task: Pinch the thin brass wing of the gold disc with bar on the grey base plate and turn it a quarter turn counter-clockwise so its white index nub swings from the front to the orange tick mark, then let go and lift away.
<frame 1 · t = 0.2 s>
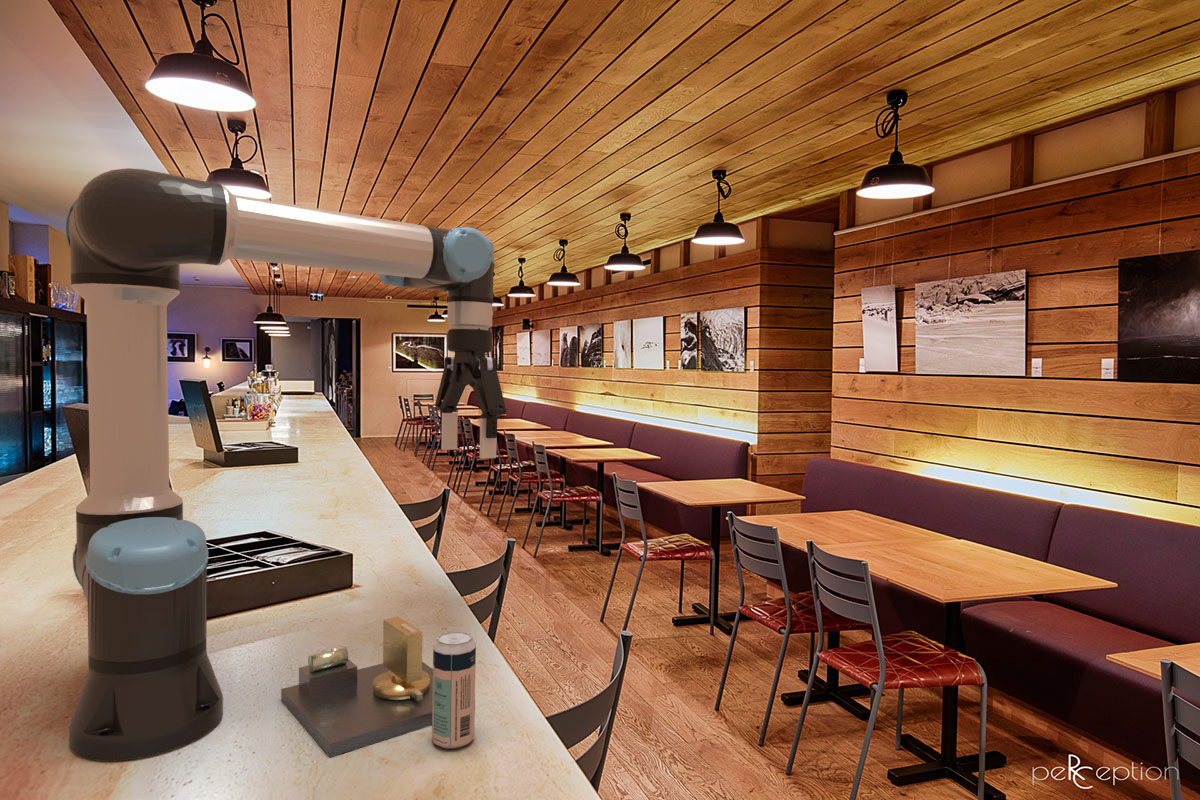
hand: (467, 453, 125), 28 cm above the worktop, fingers open, 13 cm apart
beer can: (453, 742, 84), on the worktop
grey base plate: (377, 705, 92), on the worktop
gold disc with bar: (404, 657, 92), point 6 cm above the worktop, hinge at 0.0°
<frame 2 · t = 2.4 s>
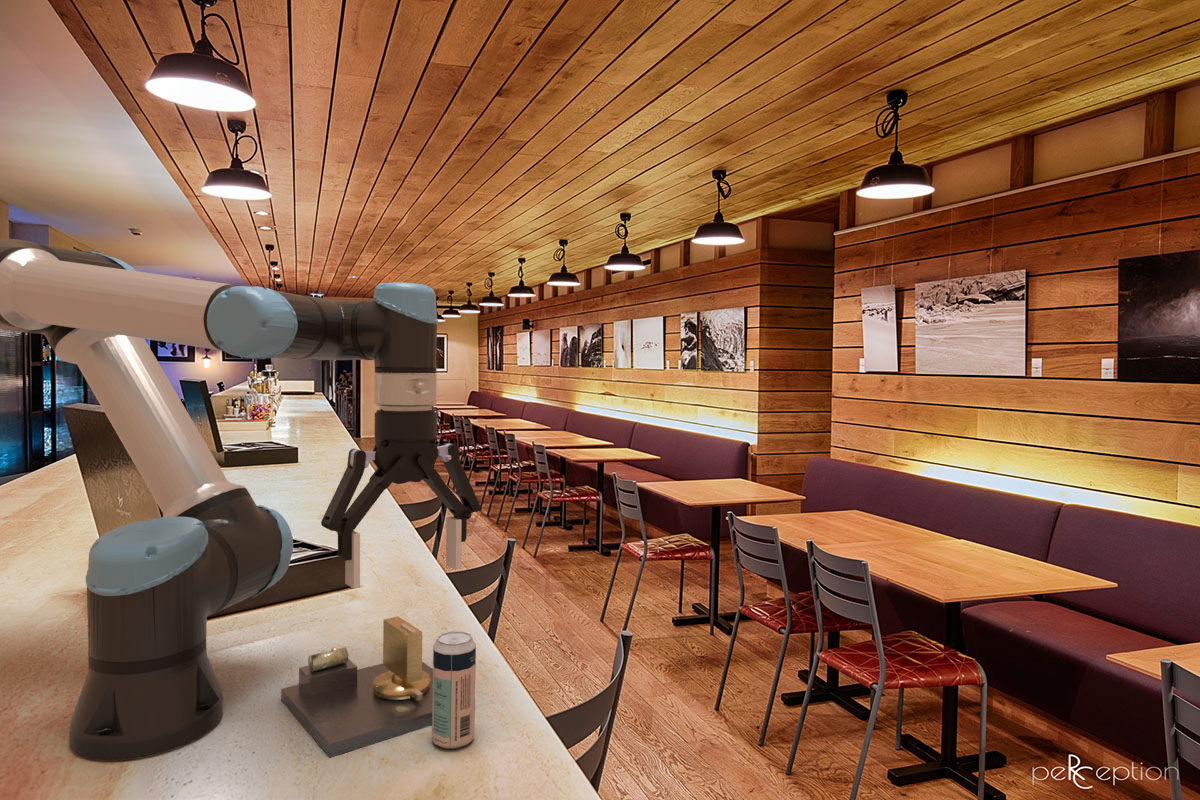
hand: (405, 576, 93), 16 cm above the worktop, fingers open, 13 cm apart
nothing on the worktop moved.
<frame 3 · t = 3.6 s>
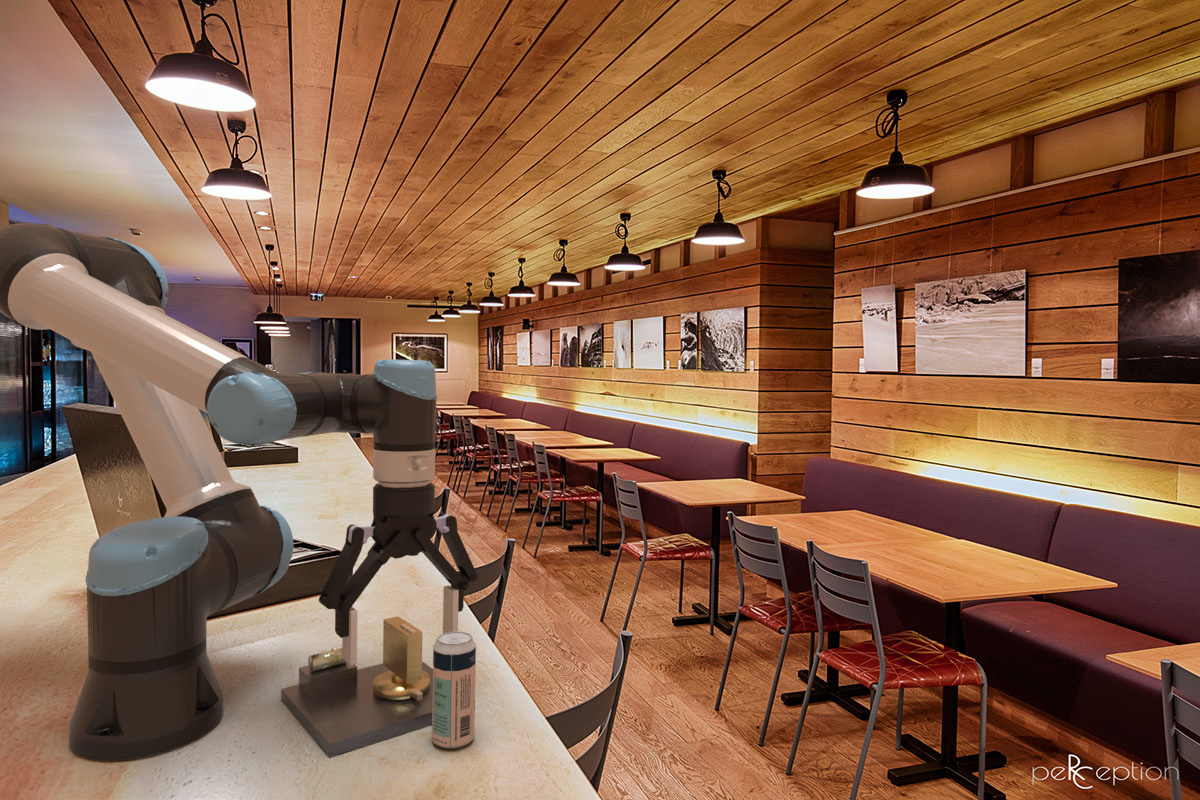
hand: (402, 648, 93), 7 cm above the worktop, fingers open, 13 cm apart
nothing on the worktop moved.
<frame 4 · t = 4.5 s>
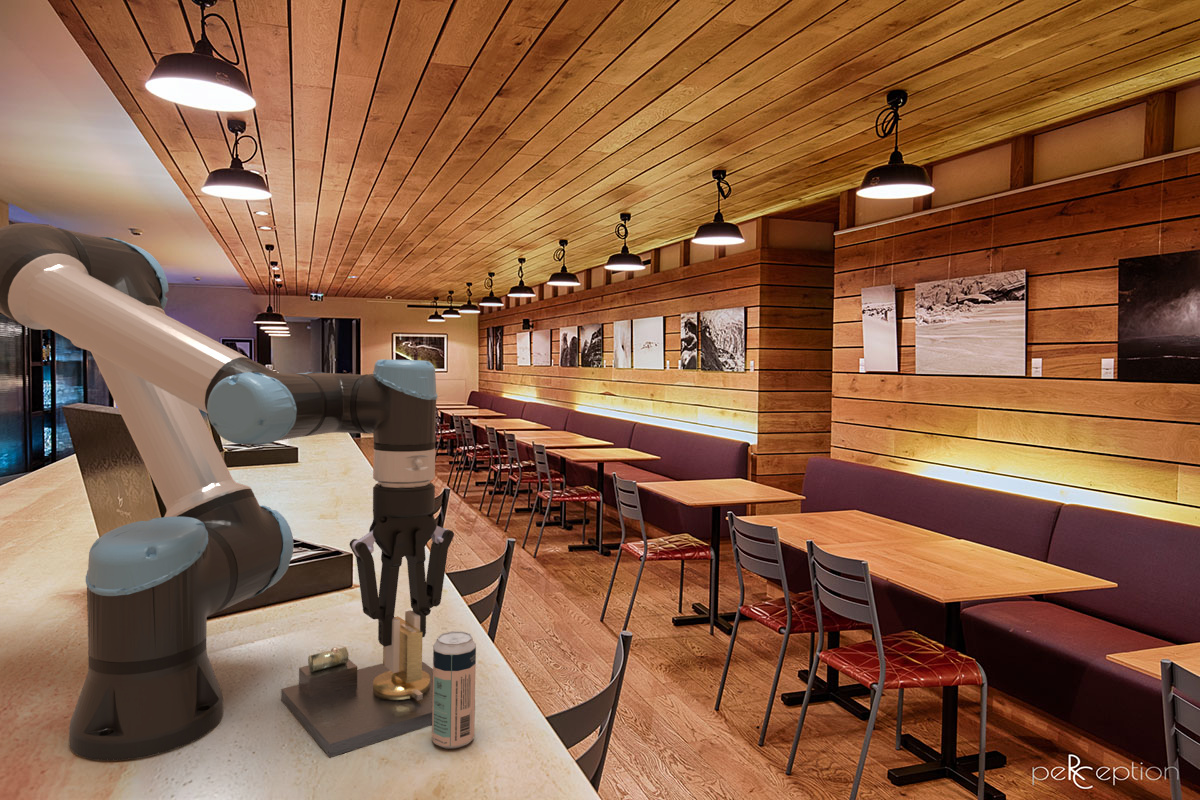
hand: (401, 665, 93), 4 cm above the worktop, fingers closed on gold disc with bar, 2 cm apart
gold disc with bar: (404, 657, 92), point 6 cm above the worktop, hinge at 0.0°, touching gripper
everything else where it was.
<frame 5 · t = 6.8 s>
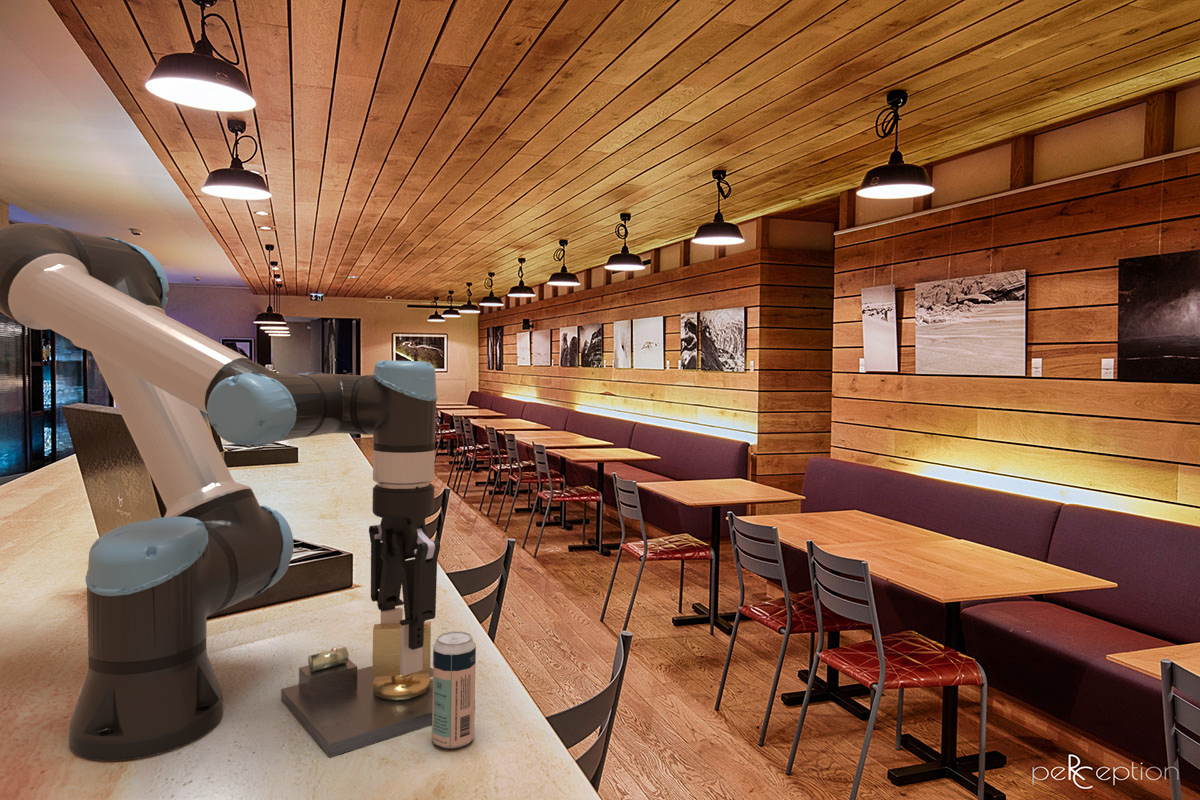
hand: (400, 665, 93), 5 cm above the worktop, fingers closed on gold disc with bar, 4 cm apart
gold disc with bar: (408, 655, 93), point 6 cm above the worktop, hinge at 62.1°, touching gripper
everything else where it was.
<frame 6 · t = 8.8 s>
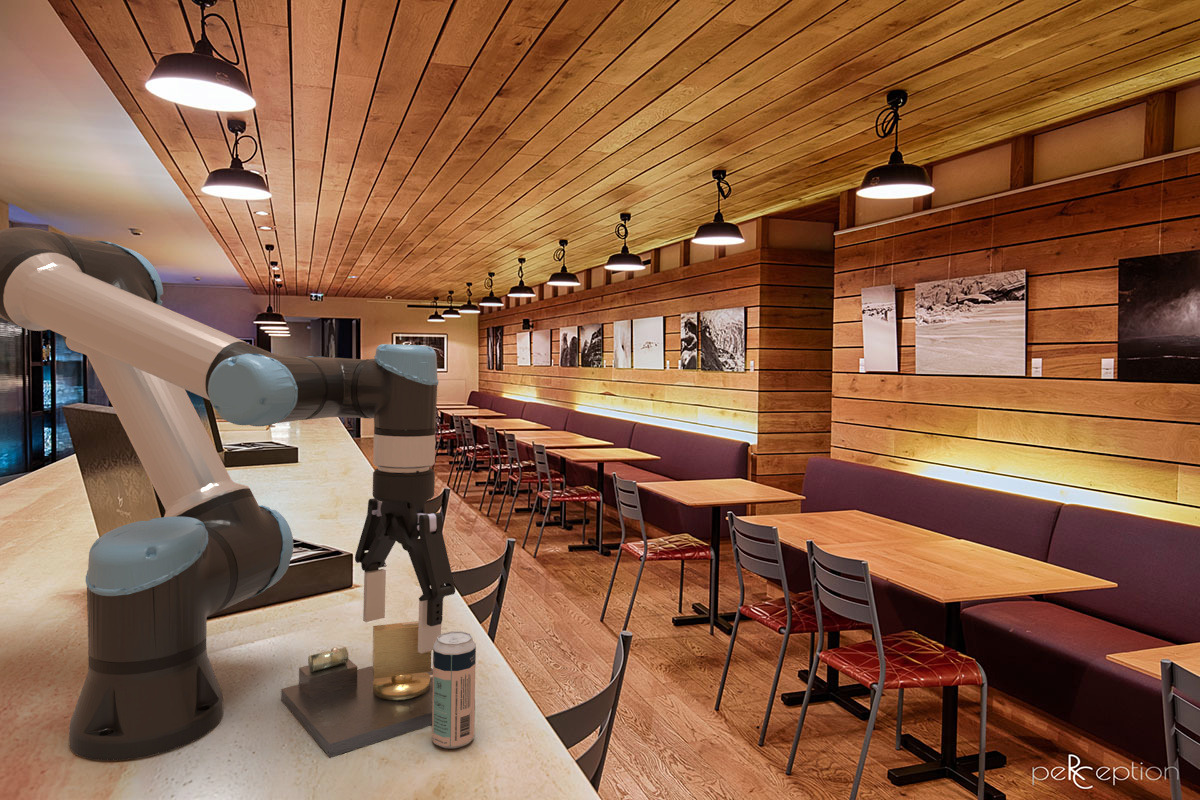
hand: (400, 634, 93), 9 cm above the worktop, fingers open, 13 cm apart
gold disc with bar: (408, 654, 93), point 6 cm above the worktop, hinge at 72.1°
everything else where it was.
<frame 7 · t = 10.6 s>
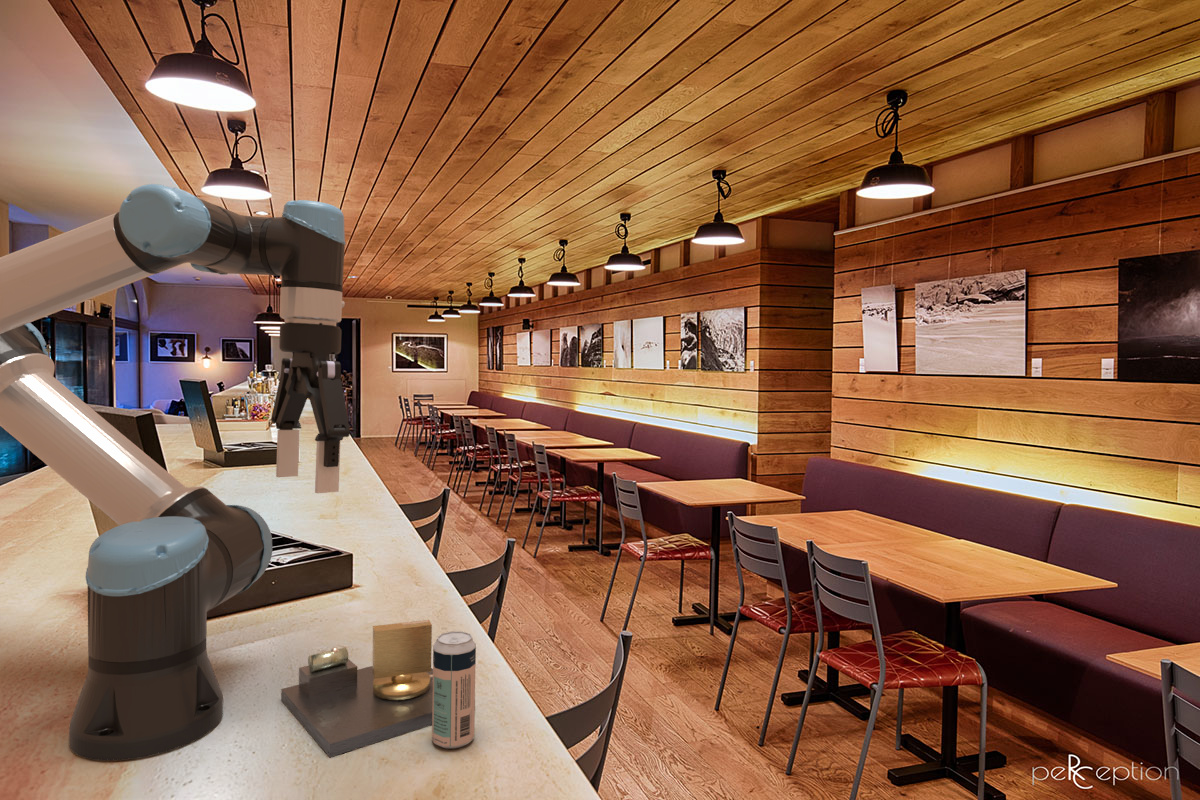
hand: (305, 484, 97), 27 cm above the worktop, fingers open, 13 cm apart
gold disc with bar: (408, 654, 93), point 6 cm above the worktop, hinge at 73.0°
everything else where it was.
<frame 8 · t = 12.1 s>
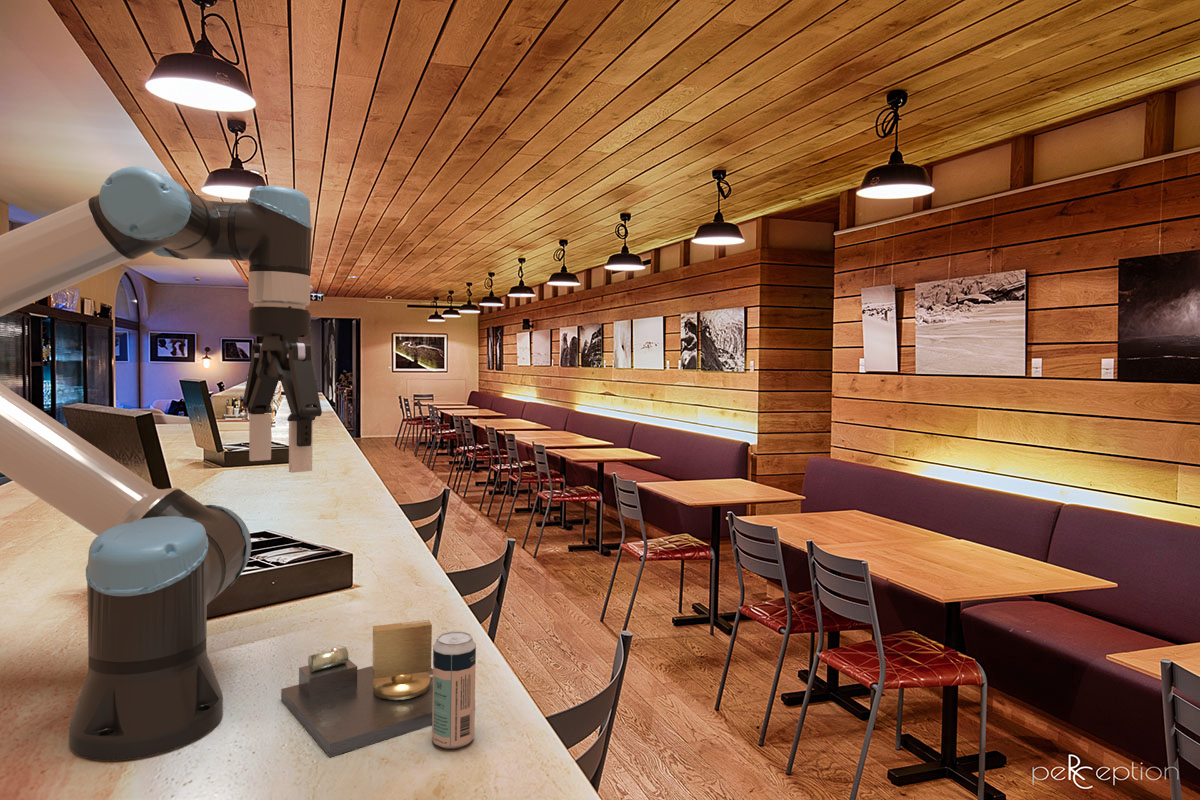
hand: (279, 465, 99), 29 cm above the worktop, fingers open, 13 cm apart
nothing on the worktop moved.
at the end: gold disc with bar at +73° (first picture: +0°); the gripper is holding nothing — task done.
